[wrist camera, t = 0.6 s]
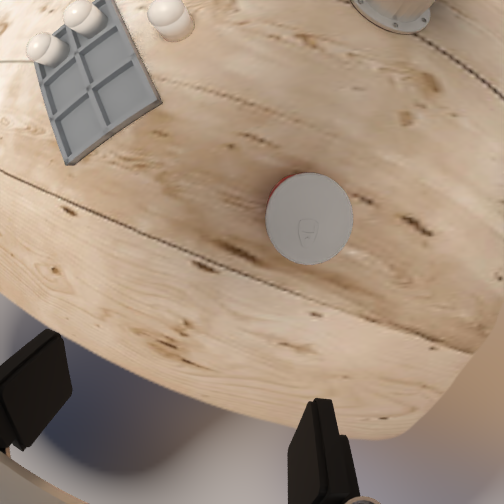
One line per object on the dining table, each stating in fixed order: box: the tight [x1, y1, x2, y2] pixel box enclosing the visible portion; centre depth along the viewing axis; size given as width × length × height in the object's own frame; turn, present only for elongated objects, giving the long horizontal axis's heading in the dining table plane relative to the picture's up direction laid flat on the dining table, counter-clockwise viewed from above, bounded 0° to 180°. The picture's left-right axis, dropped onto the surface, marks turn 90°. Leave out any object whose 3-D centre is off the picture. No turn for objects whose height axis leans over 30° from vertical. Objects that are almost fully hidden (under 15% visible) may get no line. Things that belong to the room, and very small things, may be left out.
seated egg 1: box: [26, 32, 70, 68], centre depth 28 cm, size 5×5×7 cm
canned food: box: [265, 172, 353, 265], centre depth 30 cm, size 8×8×11 cm
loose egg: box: [147, 0, 194, 42], centre depth 27 cm, size 5×5×7 cm
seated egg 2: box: [63, 0, 108, 39], centre depth 27 cm, size 5×5×7 cm
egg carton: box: [34, 0, 162, 166], centre depth 32 cm, size 16×23×2 cm
